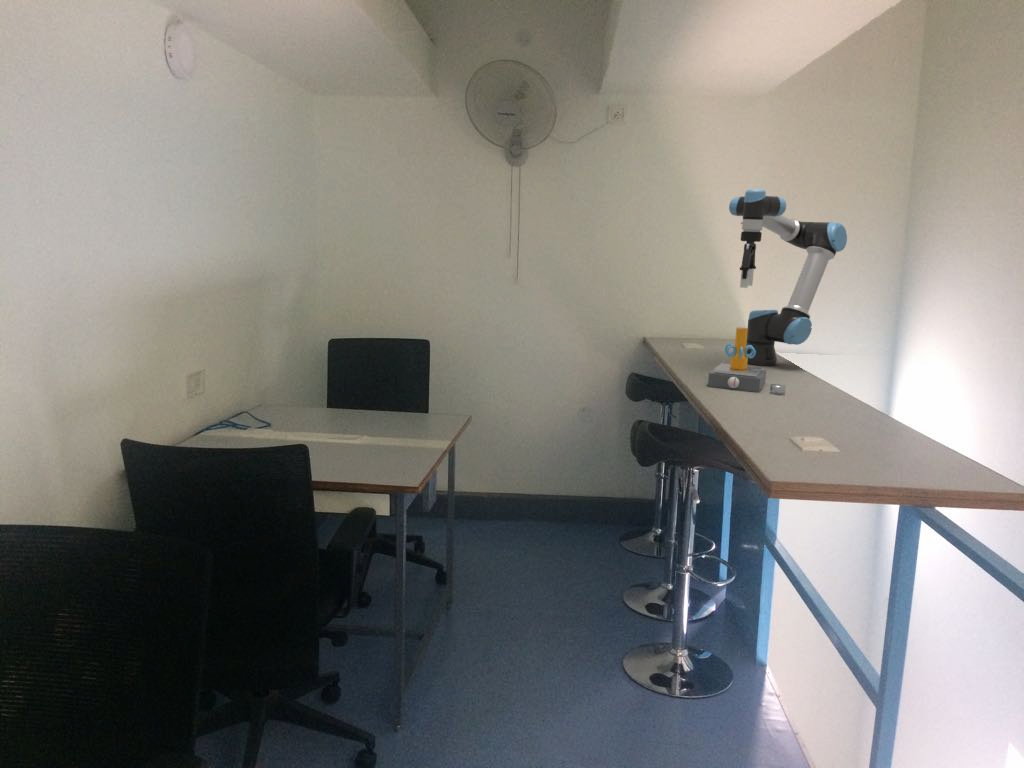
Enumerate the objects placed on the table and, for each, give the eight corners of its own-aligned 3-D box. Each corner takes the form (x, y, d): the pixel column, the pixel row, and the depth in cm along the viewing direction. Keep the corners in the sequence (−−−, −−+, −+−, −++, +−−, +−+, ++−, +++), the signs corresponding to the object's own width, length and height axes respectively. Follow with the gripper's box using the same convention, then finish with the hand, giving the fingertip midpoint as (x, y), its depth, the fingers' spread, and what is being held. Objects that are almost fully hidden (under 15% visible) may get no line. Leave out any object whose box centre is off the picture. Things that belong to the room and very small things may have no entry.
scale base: (716, 378, 289) (717, 365, 288) (764, 383, 282) (766, 370, 281) (707, 386, 272) (708, 373, 271) (758, 392, 265) (760, 379, 264)
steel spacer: (770, 391, 268) (771, 383, 268) (785, 393, 266) (786, 385, 266) (769, 394, 264) (769, 385, 263) (783, 395, 262) (784, 387, 261)
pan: (719, 376, 287) (721, 363, 286) (760, 380, 281) (762, 367, 280) (712, 382, 274) (714, 369, 272) (755, 387, 267) (756, 374, 266)
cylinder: (755, 372, 269) (759, 331, 266) (725, 370, 271) (728, 329, 268) (751, 366, 281) (755, 326, 278) (722, 364, 283) (726, 325, 280)
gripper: (746, 230, 300) (741, 284, 304) (736, 230, 278) (731, 287, 282) (765, 231, 297) (760, 285, 301) (757, 231, 275) (751, 289, 279)
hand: (746, 286), depth 292 cm, fingers open, 13 cm apart
